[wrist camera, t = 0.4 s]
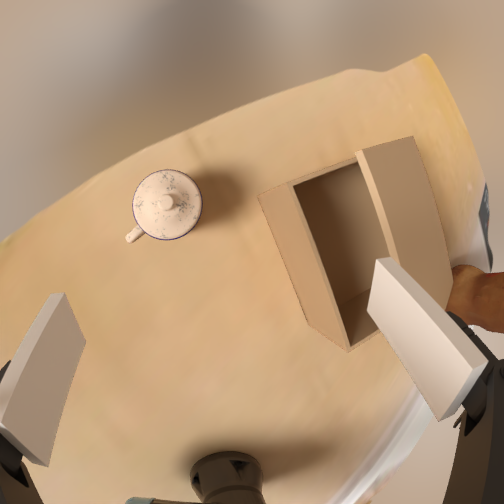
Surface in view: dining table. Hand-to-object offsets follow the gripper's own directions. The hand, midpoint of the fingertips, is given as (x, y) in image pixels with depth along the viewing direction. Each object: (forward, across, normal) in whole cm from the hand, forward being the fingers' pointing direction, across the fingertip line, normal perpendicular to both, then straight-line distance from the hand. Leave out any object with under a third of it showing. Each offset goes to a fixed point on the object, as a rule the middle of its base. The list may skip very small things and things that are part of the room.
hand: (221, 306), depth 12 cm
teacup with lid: (+35, +8, +8) cm, 37 cm away
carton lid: (+18, -25, +8) cm, 32 cm away
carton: (+36, -21, +15) cm, 44 cm away
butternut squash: (+34, -49, +31) cm, 67 cm away
